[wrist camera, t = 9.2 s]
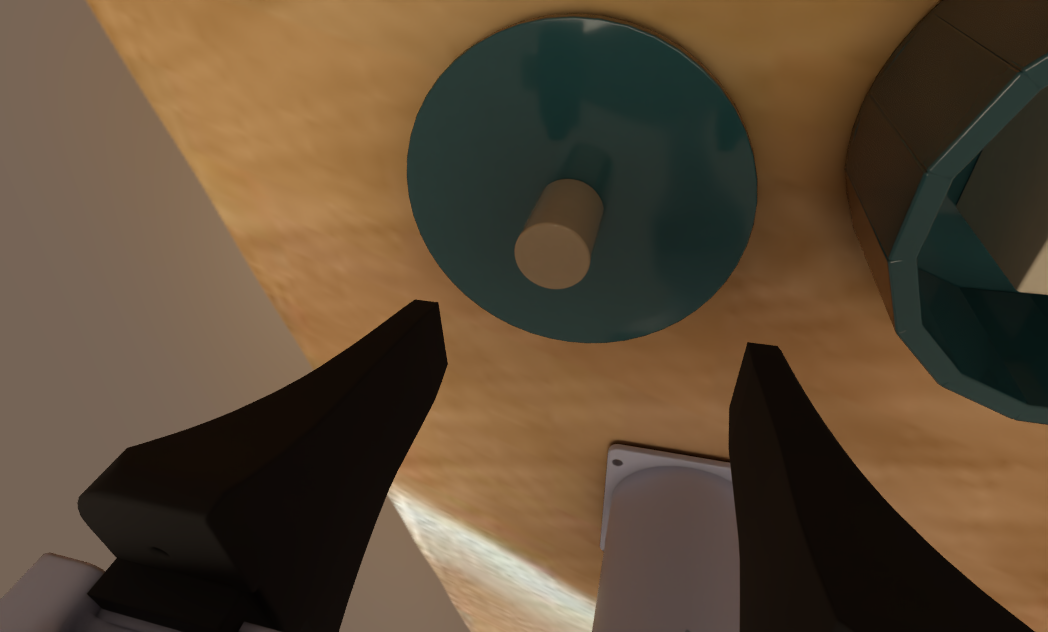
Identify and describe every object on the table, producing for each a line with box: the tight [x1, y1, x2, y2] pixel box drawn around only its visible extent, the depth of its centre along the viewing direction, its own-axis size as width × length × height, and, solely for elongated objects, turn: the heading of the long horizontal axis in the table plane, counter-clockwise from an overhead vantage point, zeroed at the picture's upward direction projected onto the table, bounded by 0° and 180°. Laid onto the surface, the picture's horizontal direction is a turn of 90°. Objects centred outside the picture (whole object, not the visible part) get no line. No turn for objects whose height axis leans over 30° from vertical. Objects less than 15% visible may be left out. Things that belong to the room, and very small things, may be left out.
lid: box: [407, 13, 757, 343], centre depth 19 cm, size 12×12×4 cm
